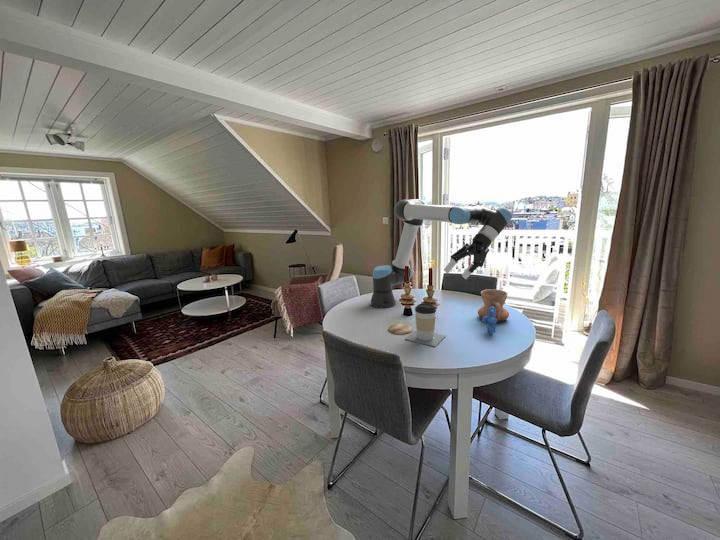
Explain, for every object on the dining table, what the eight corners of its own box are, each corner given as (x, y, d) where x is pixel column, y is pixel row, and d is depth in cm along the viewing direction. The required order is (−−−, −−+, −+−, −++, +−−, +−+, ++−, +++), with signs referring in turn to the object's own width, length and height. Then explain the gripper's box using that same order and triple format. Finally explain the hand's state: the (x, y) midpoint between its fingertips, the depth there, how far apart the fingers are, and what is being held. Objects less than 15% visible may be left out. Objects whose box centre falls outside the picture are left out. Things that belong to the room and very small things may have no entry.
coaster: (384, 331, 139) (384, 329, 139) (395, 323, 148) (395, 322, 148) (405, 336, 133) (405, 334, 133) (415, 328, 142) (415, 326, 142)
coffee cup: (419, 331, 136) (419, 300, 133) (438, 335, 132) (438, 303, 129) (412, 339, 129) (411, 306, 126) (432, 343, 124) (432, 309, 121)
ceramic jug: (475, 312, 160) (476, 287, 157) (504, 313, 156) (505, 287, 154) (480, 325, 143) (481, 297, 140) (513, 326, 139) (514, 298, 136)
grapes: (481, 326, 141) (482, 302, 138) (496, 328, 138) (498, 303, 136) (480, 336, 130) (481, 310, 128) (497, 338, 127) (499, 311, 125)
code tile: (404, 339, 129) (404, 338, 129) (416, 330, 139) (416, 329, 139) (435, 347, 121) (435, 346, 121) (445, 336, 131) (445, 335, 131)
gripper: (510, 246, 119) (477, 285, 118) (471, 241, 143) (443, 274, 142) (500, 234, 117) (467, 274, 116) (462, 231, 141) (434, 264, 139)
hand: (454, 274), depth 129 cm, fingers open, 13 cm apart
